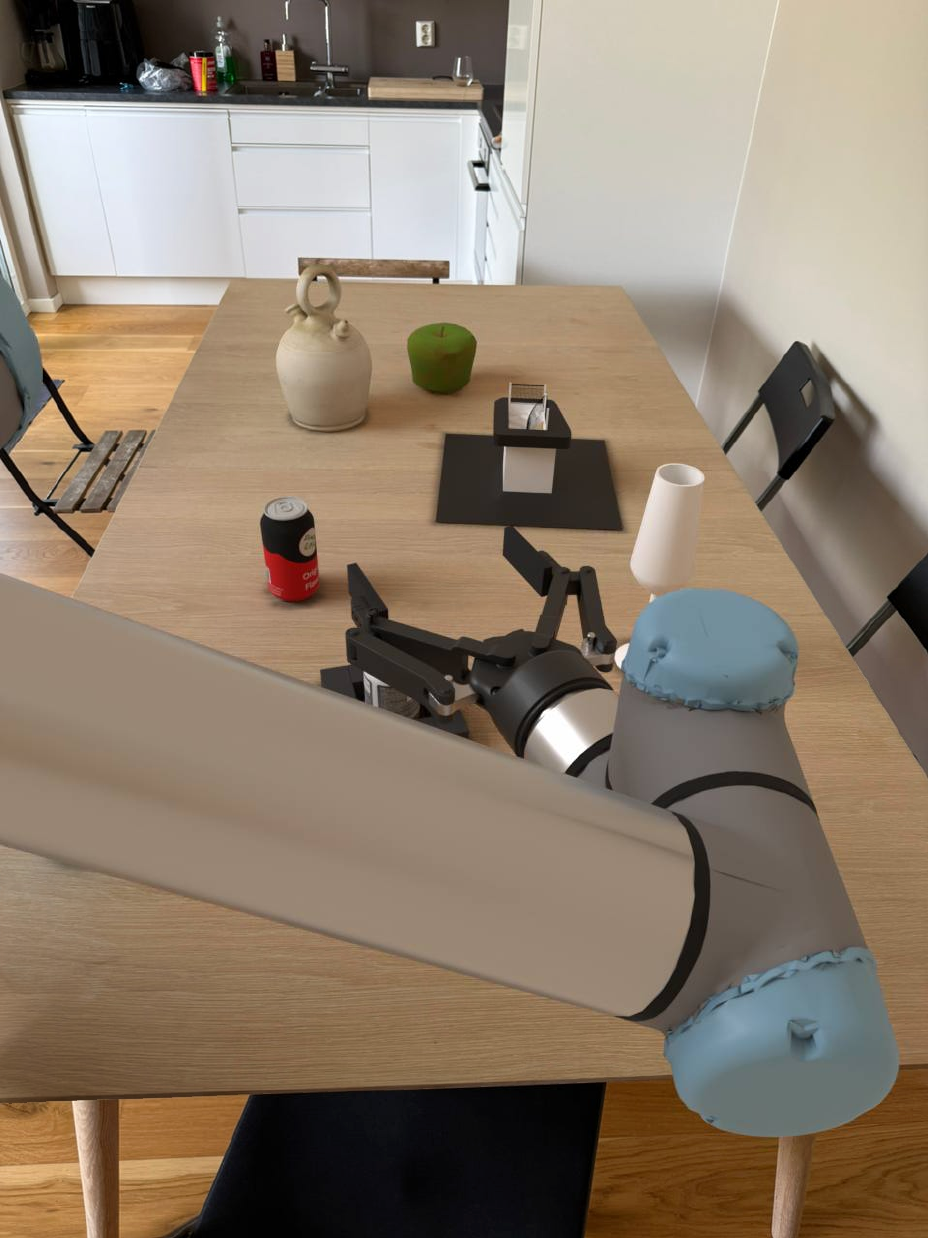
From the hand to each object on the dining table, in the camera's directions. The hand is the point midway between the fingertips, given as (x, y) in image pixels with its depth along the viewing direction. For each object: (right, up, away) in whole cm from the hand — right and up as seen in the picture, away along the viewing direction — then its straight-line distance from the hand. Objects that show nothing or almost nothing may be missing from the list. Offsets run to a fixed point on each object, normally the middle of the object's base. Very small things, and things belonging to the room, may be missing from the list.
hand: (432, 558), depth 71 cm
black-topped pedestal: (+12, +16, +65) cm, 68 cm away
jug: (-21, +29, +80) cm, 88 cm away
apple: (-2, +37, +91) cm, 99 cm away
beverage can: (-19, -2, +40) cm, 44 cm away
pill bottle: (-5, -15, +23) cm, 28 cm away
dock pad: (-5, -15, +23) cm, 28 cm away
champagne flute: (+23, -10, +31) cm, 40 cm away
